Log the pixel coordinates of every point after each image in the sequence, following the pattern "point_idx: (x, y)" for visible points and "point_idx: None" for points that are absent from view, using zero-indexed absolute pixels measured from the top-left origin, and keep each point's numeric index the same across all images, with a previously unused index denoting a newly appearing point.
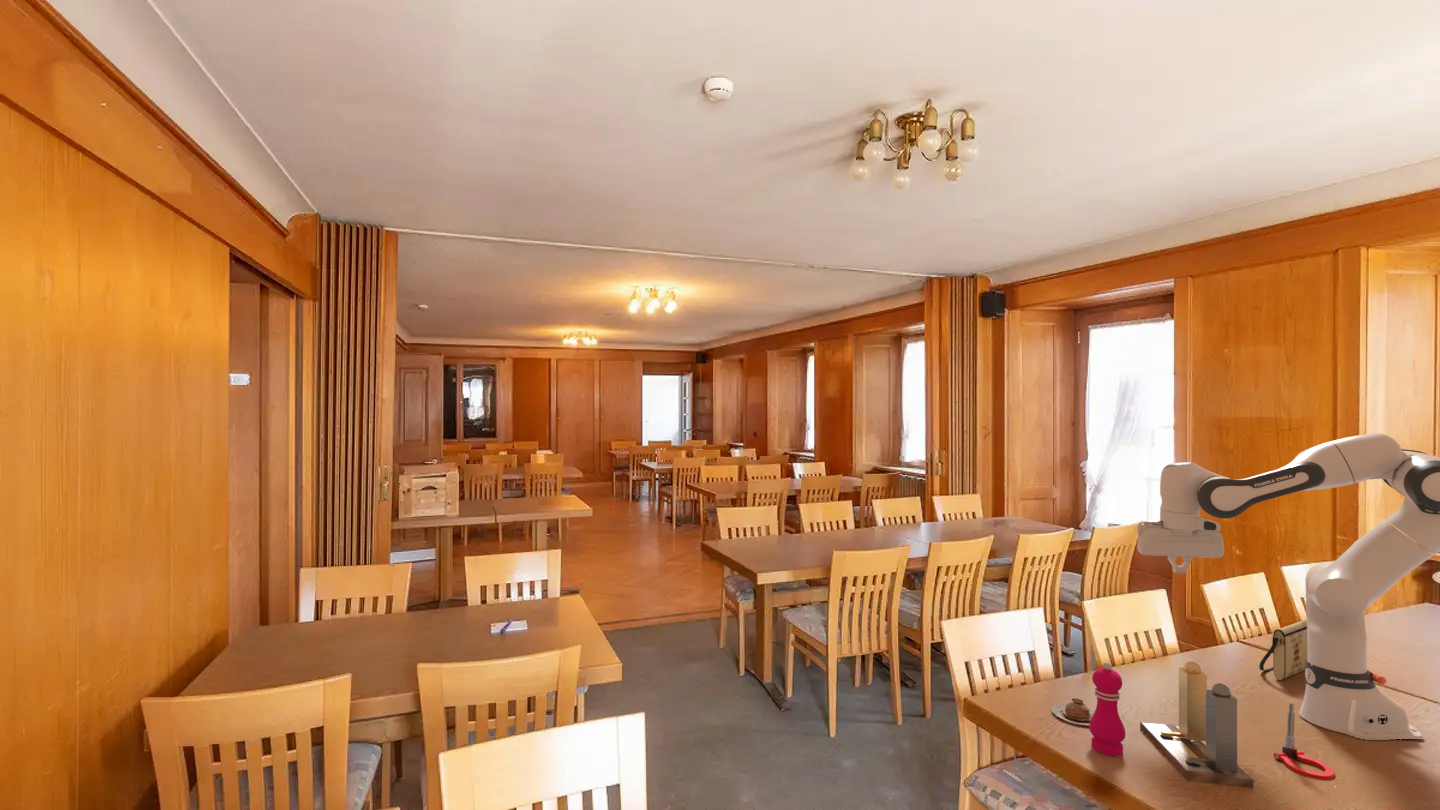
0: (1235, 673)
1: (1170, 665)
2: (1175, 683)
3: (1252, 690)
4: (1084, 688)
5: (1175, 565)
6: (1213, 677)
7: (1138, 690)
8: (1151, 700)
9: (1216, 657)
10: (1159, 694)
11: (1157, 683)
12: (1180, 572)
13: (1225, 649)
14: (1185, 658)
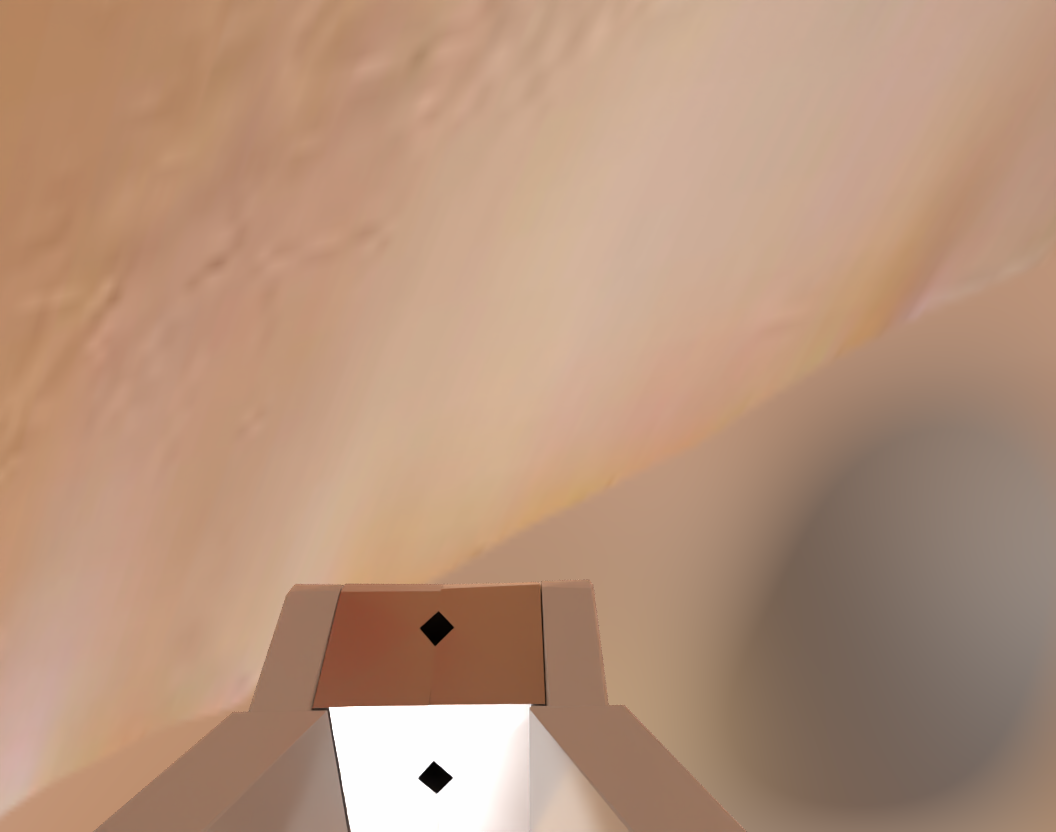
0: (61, 509)
1: (352, 549)
2: (423, 313)
3: (37, 296)
4: (1003, 125)
5: (607, 731)
6: (189, 436)
7: (685, 161)
8: (683, 7)
9: (94, 680)
10: (588, 122)
11: (525, 293)
12: (455, 588)
13: (26, 771)
14: (245, 644)
